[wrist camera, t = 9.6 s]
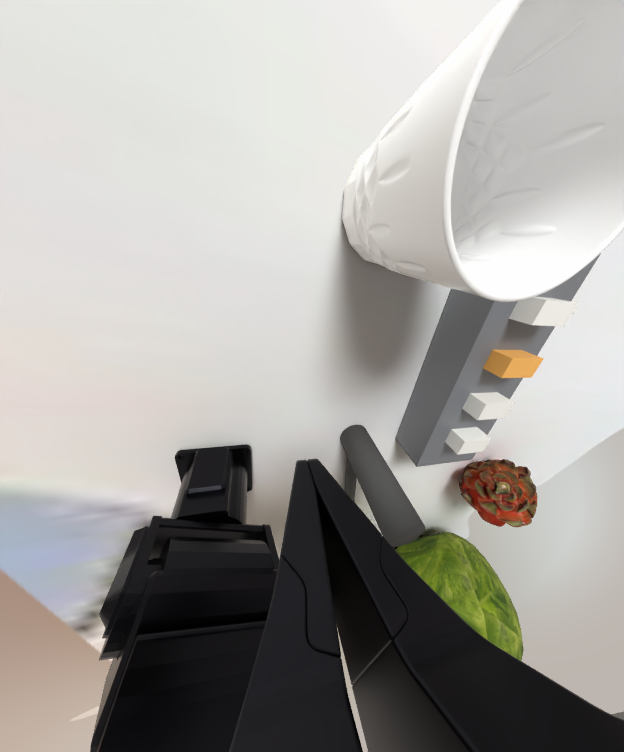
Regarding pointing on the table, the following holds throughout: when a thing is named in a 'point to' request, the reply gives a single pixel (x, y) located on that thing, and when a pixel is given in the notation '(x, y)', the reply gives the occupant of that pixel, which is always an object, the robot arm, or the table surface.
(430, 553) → the lettuce
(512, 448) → the table surface
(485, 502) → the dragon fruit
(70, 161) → the table surface
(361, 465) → the post
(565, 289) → the breaker strip
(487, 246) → the white cup
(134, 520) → the table surface
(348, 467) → the dark grey thin rod
